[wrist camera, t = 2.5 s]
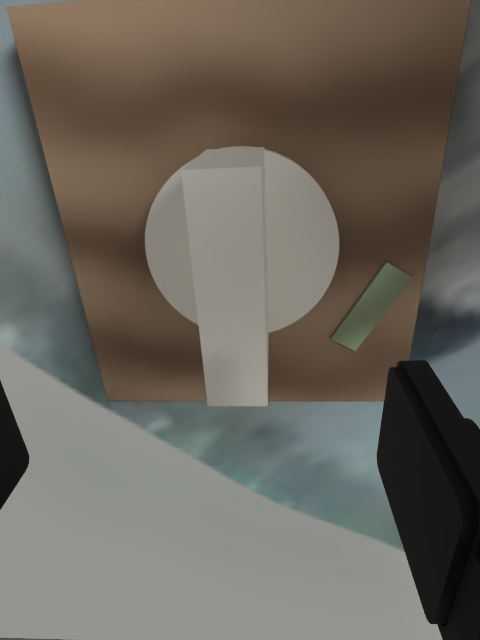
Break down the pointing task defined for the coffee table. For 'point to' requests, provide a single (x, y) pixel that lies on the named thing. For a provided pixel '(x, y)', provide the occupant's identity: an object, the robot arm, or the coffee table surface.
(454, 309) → the coffee table surface
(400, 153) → the dial board
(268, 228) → the dial knob
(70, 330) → the coffee table surface
